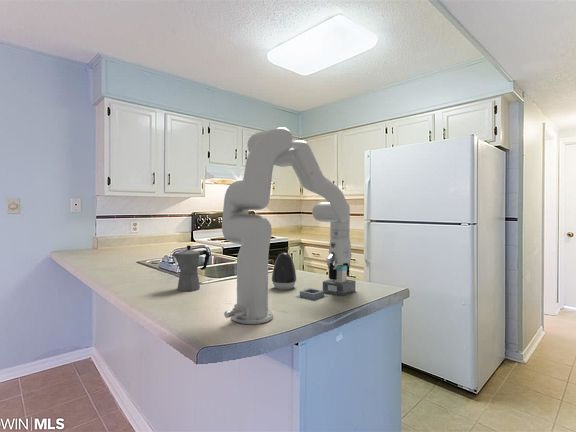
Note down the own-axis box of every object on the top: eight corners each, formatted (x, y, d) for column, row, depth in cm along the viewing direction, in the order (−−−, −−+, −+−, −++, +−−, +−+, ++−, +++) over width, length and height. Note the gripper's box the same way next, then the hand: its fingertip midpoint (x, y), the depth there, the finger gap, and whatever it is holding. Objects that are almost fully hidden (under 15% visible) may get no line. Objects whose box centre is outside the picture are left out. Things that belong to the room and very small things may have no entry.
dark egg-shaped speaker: (298, 286, 142) (299, 251, 142) (292, 292, 132) (293, 254, 132) (276, 285, 145) (276, 250, 145) (268, 290, 135) (268, 253, 135)
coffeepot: (174, 293, 130) (174, 247, 129) (169, 288, 138) (169, 245, 137) (213, 288, 138) (213, 245, 137) (206, 284, 146) (206, 243, 145)
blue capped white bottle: (342, 292, 129) (342, 266, 129) (333, 291, 132) (334, 265, 131) (346, 290, 132) (347, 265, 132) (338, 289, 134) (339, 264, 134)
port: (342, 297, 125) (342, 285, 125) (322, 293, 131) (322, 281, 131) (355, 292, 133) (355, 280, 133) (335, 288, 139) (336, 277, 139)
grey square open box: (314, 302, 118) (314, 295, 118) (295, 298, 124) (295, 291, 124) (328, 297, 125) (328, 290, 125) (309, 293, 131) (309, 287, 131)
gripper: (336, 236, 123) (336, 282, 123) (358, 233, 136) (358, 275, 136) (319, 235, 127) (319, 279, 128) (342, 232, 141) (342, 272, 141)
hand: (339, 277), depth 132 cm, fingers open, 9 cm apart
